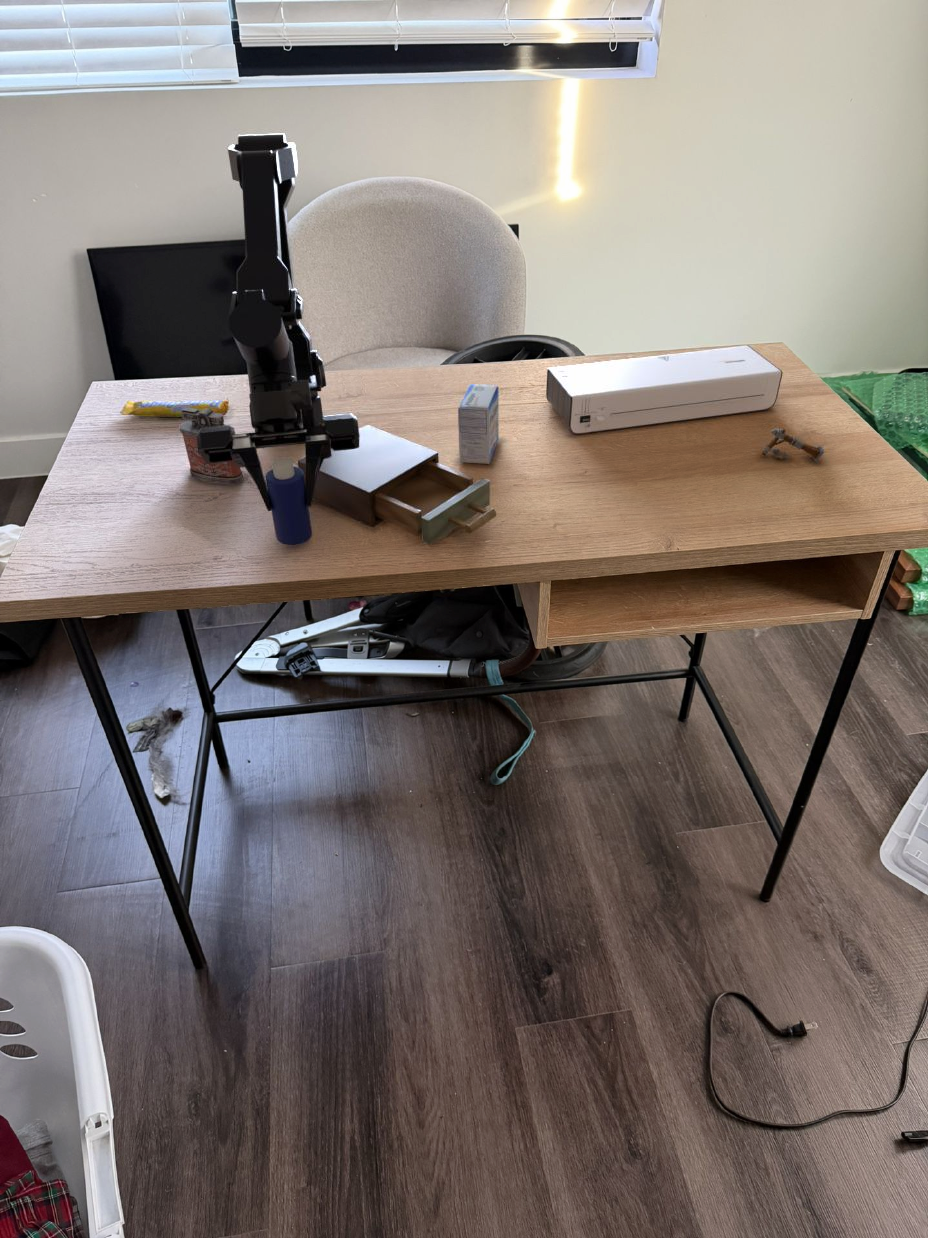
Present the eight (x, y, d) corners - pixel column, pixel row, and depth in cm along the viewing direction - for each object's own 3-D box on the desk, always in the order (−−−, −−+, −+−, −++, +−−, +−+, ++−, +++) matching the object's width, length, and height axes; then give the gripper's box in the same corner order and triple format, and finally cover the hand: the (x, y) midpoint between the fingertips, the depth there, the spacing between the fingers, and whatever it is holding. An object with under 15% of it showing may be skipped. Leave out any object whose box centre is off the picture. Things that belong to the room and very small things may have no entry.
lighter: (248, 474, 121) (235, 408, 114) (236, 486, 118) (222, 419, 112) (199, 466, 123) (183, 400, 116) (185, 477, 120) (169, 411, 114)
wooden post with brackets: (755, 448, 122) (774, 422, 120) (802, 470, 124) (822, 444, 121) (757, 454, 121) (777, 428, 118) (805, 476, 123) (825, 450, 120)
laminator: (740, 380, 143) (747, 344, 139) (778, 412, 133) (787, 374, 129) (545, 404, 137) (547, 367, 133) (570, 439, 127) (573, 400, 124)
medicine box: (489, 465, 122) (489, 408, 116) (458, 463, 122) (457, 406, 117) (498, 439, 128) (499, 384, 122) (469, 437, 128) (468, 382, 123)
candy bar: (234, 406, 138) (232, 395, 137) (229, 418, 135) (226, 407, 133) (129, 408, 138) (126, 397, 137) (122, 420, 135) (118, 409, 133)
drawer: (513, 514, 110) (513, 490, 108) (453, 556, 103) (452, 531, 101) (419, 475, 118) (418, 452, 116) (358, 512, 111) (355, 488, 109)
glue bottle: (272, 531, 107) (258, 458, 100) (306, 522, 108) (294, 450, 102) (282, 549, 104) (269, 475, 97) (316, 540, 105) (306, 466, 99)
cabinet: (439, 486, 118) (438, 452, 114) (372, 527, 110) (369, 492, 106) (370, 457, 124) (367, 424, 121) (302, 494, 116) (297, 460, 113)
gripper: (180, 362, 94) (196, 500, 93) (349, 347, 97) (368, 482, 95) (198, 398, 105) (213, 523, 104) (350, 384, 108) (367, 505, 106)
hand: (289, 508), depth 102 cm, fingers closed on glue bottle, 4 cm apart
